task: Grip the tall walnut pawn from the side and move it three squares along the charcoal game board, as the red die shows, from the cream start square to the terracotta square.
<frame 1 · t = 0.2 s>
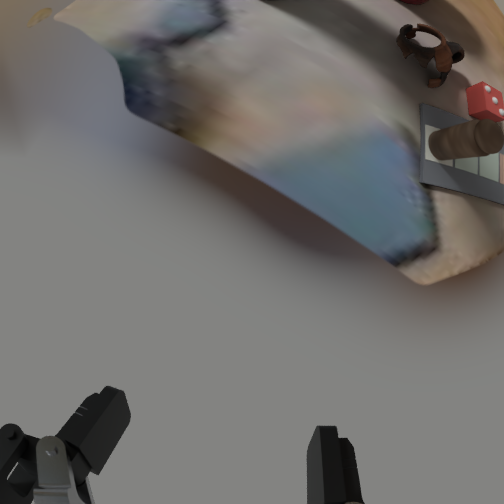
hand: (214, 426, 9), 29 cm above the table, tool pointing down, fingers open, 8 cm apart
game board: (474, 159, 31), on the table
red die: (477, 106, 28), on the table
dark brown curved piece: (424, 61, 28), on the table
walnut pawn: (439, 145, 30), point 1 cm above the table, touching game board
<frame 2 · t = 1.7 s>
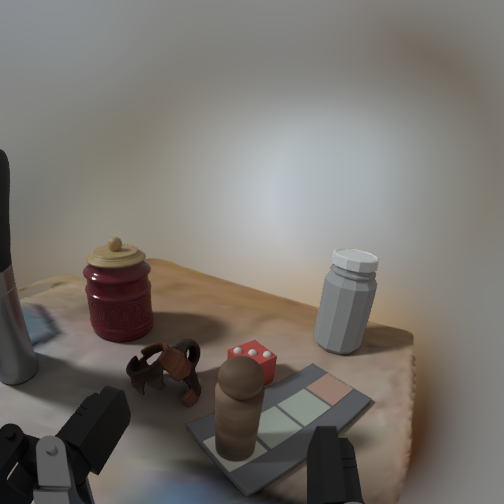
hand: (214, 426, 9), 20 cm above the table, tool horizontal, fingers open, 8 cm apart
game board: (288, 421, 31), on the table
jar: (336, 343, 50), on the table
red die: (249, 378, 39), on the table
canister: (122, 325, 49), on the table
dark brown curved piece: (171, 386, 35), on the table
walnut pawn: (234, 446, 25), point 1 cm above the table, touching game board
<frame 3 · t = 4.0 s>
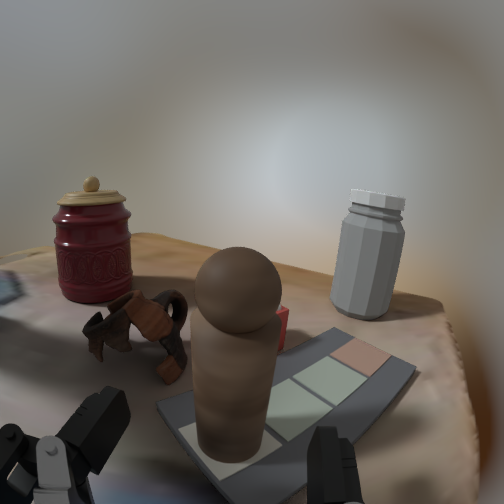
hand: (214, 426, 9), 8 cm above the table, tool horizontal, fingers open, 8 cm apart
game board: (309, 400, 21), on the table
jar: (357, 309, 41), on the table
red die: (251, 345, 30), on the table
canister: (96, 288, 39), on the table
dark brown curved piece: (147, 357, 26), on the table
walnut pawn: (229, 439, 16), point 1 cm above the table, touching game board
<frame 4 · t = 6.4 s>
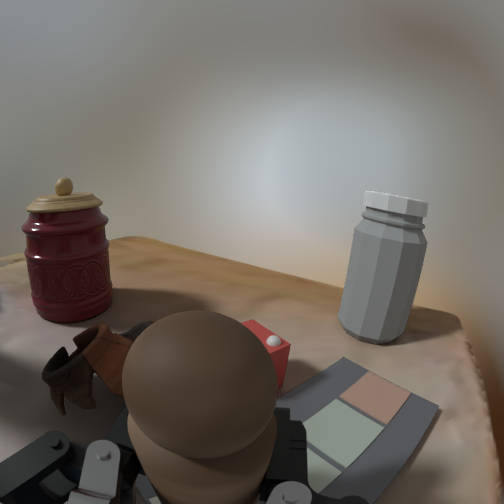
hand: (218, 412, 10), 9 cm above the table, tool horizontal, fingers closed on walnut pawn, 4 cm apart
game board: (313, 458, 15), on the table
jar: (369, 329, 34), on the table
red die: (244, 382, 23), on the table
canister: (73, 303, 33), on the table
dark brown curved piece: (123, 401, 19), on the table
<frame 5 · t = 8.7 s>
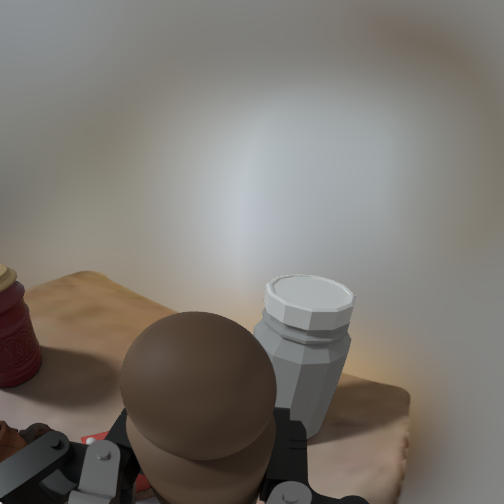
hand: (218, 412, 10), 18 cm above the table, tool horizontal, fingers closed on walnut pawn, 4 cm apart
jar: (283, 420, 29), on the table
red die: (124, 474, 18), on the table
canister: (11, 364, 27), on the table
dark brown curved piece: (36, 476, 13), on the table
when the fingers open (9 cm above the table, at t = 11.4 s): walnut pawn stays where it is, resting on game board.
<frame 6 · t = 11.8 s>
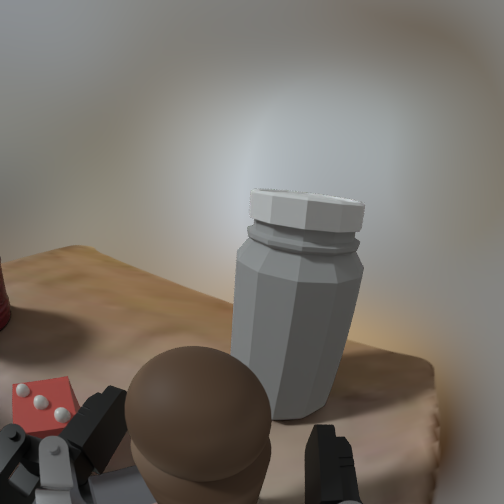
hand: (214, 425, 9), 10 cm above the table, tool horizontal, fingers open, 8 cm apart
jar: (278, 391, 24), on the table
red die: (65, 445, 13), on the table
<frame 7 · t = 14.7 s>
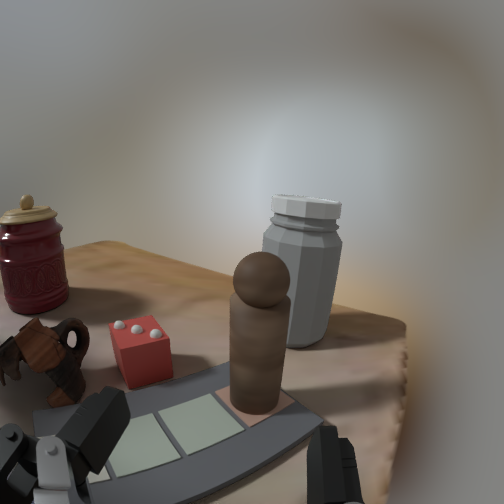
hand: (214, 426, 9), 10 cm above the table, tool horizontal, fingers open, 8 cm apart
game board: (170, 440, 17), on the table
jar: (290, 333, 37), on the table
red die: (143, 369, 26), on the table
canister: (38, 299, 36), on the table
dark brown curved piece: (54, 383, 20), on the table
walnut pawn: (254, 397, 22), point 1 cm above the table, touching game board
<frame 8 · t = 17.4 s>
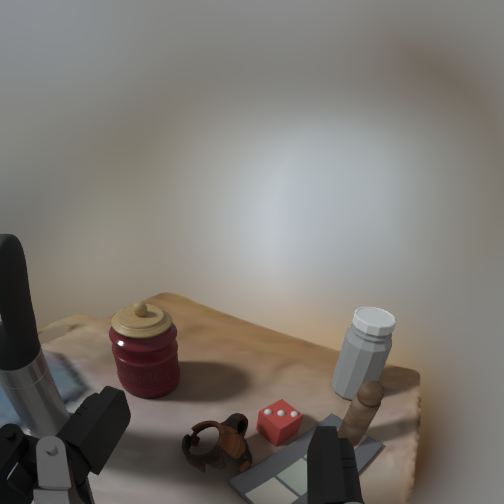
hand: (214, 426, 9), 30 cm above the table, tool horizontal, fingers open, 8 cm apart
game board: (313, 469, 31), on the table
jar: (351, 389, 50), on the table
red die: (276, 431, 39), on the table
canister: (149, 379, 49), on the table
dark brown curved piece: (222, 454, 34), on the table, touching game board
walnut pawn: (347, 437, 36), point 1 cm above the table, touching game board
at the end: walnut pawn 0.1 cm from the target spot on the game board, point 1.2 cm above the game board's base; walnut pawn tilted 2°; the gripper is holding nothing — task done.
